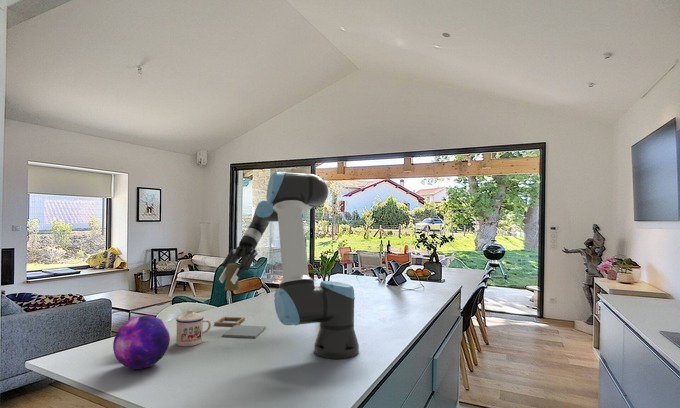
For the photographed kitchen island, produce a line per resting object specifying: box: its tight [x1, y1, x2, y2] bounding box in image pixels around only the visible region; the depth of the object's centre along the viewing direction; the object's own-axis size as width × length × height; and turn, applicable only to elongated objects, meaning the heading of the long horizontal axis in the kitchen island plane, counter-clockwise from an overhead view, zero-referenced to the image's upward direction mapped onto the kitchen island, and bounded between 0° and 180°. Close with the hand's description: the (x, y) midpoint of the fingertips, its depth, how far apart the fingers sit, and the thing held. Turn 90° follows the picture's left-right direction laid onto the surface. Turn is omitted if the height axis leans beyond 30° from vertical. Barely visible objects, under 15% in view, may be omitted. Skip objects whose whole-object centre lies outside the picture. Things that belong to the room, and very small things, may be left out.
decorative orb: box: [112, 314, 171, 370], centre depth 114 cm, size 15×15×15 cm
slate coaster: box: [221, 324, 267, 339], centre depth 149 cm, size 13×13×1 cm
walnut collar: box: [213, 316, 246, 327], centre depth 163 cm, size 10×10×1 cm
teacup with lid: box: [175, 308, 212, 347], centre depth 137 cm, size 12×9×12 cm
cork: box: [224, 262, 240, 292], centre depth 163 cm, size 6×6×11 cm
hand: (226, 281), depth 159 cm, fingers closed on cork, 5 cm apart
